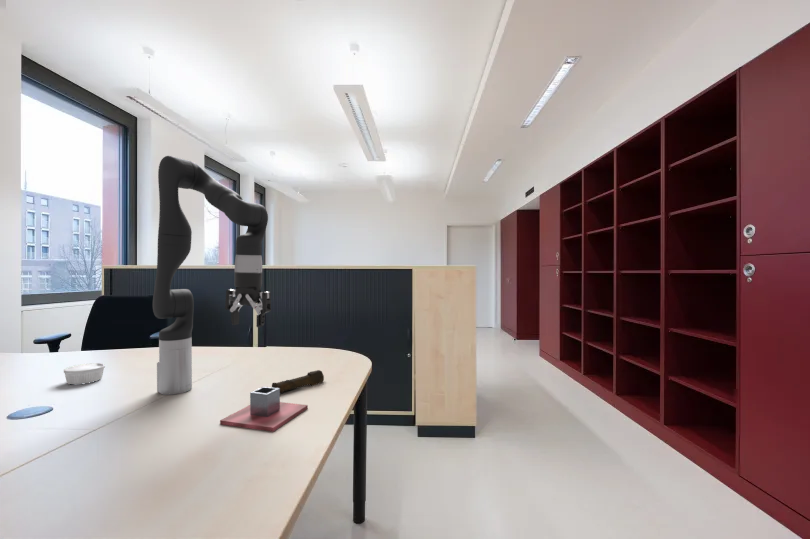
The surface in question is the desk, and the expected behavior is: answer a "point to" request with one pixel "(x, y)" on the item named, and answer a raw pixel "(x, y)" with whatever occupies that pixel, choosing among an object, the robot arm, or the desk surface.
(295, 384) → the hand tool
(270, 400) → the square socket
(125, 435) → the desk surface
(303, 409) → the post base
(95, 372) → the ramekin
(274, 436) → the desk surface
